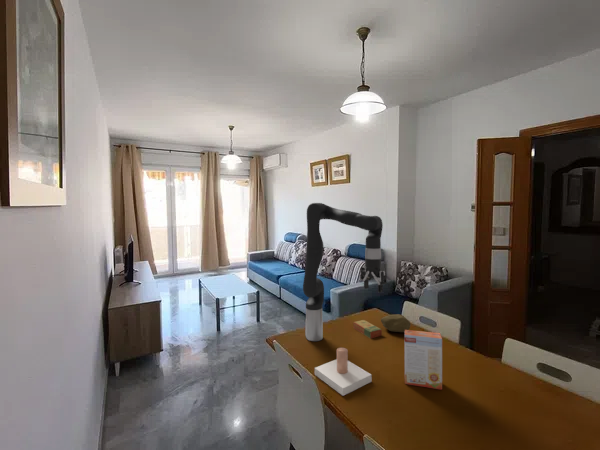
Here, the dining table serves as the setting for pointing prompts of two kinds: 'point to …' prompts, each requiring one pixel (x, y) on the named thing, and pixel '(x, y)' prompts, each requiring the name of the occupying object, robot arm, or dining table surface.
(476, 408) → the dining table surface
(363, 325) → the carton
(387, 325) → the decorative stone
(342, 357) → the canister
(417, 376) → the cracker box
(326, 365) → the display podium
